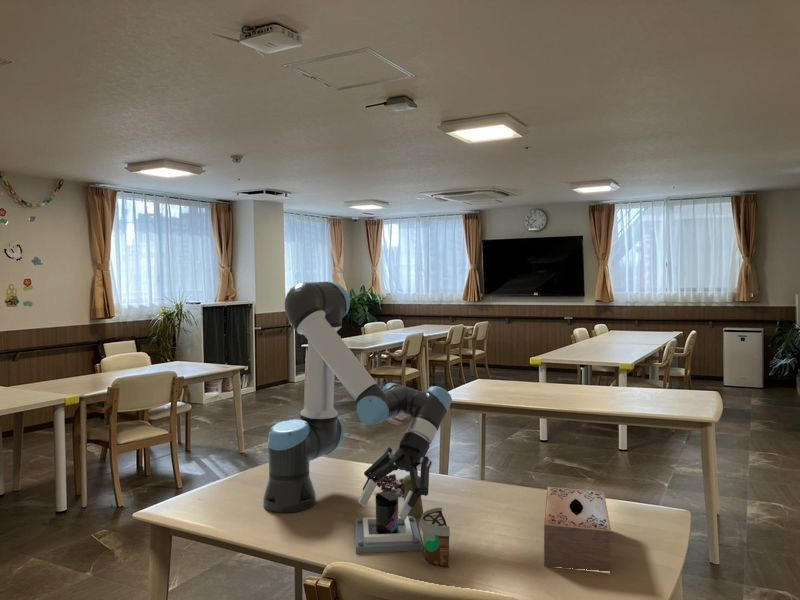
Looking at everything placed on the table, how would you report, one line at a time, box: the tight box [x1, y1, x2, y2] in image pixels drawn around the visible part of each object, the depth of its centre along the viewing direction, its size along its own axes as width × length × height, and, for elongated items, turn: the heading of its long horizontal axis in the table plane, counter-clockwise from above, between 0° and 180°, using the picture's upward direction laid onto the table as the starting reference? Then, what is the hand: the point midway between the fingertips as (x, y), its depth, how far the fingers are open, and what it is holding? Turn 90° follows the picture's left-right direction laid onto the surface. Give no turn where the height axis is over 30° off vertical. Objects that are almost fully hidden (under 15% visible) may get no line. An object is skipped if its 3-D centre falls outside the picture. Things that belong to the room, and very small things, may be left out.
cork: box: [403, 474, 424, 520], centre depth 170 cm, size 6×6×11 cm
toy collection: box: [375, 473, 405, 499], centre depth 189 cm, size 15×14×5 cm
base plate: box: [354, 515, 423, 554], centre depth 156 cm, size 16×16×3 cm
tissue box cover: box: [543, 486, 612, 571], centre depth 150 cm, size 26×14×10 cm, turn 165°
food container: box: [419, 507, 451, 569], centre depth 144 cm, size 12×6×10 cm, turn 5°
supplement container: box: [375, 492, 399, 534], centre depth 155 cm, size 6×6×9 cm
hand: (380, 510), depth 153 cm, fingers open, 13 cm apart
